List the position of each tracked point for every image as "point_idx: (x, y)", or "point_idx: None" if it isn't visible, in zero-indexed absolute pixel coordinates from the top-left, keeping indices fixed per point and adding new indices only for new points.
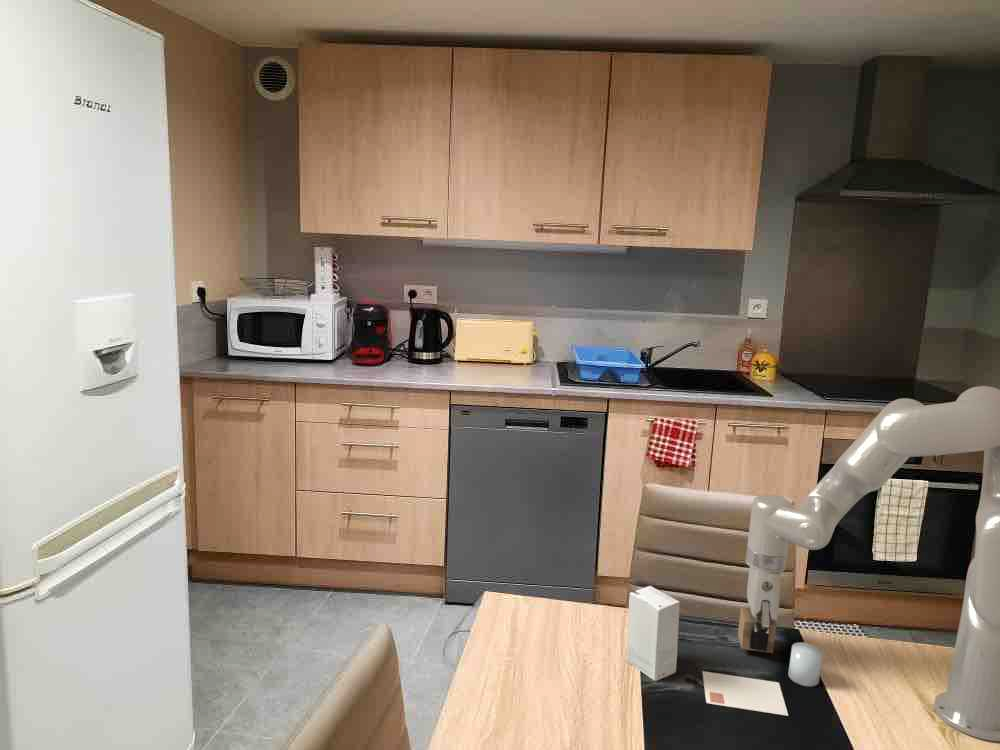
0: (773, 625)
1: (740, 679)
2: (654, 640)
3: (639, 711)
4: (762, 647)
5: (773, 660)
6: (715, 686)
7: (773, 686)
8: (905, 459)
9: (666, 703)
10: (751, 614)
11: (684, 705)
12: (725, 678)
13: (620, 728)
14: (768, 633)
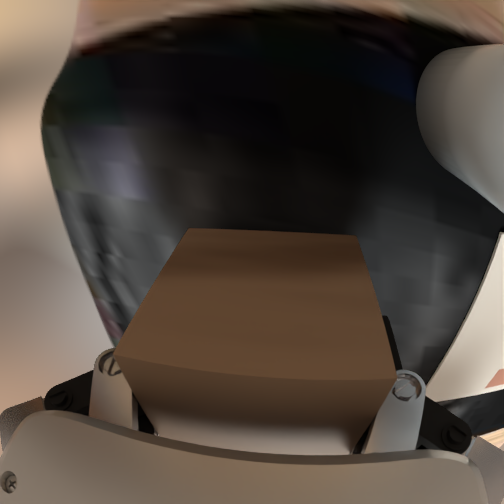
0: (388, 389)
1: (466, 340)
2: None
3: (482, 436)
4: (386, 317)
5: (349, 209)
6: (473, 382)
7: None
8: None
9: (481, 422)
10: (243, 449)
11: (495, 407)
12: (453, 369)
13: (498, 438)
14: (418, 376)
